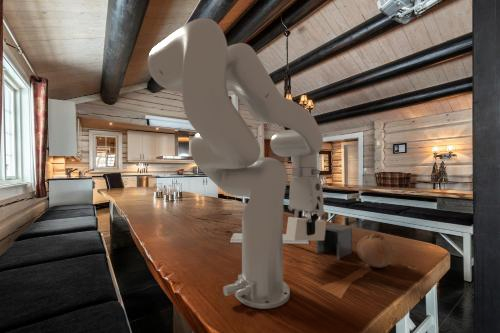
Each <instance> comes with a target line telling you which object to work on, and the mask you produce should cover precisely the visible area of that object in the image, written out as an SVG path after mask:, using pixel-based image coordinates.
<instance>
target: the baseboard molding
mask: <svg viewBox="0 0 500 333" xmlns="http://www.w3.org/2000/svg"><path fill="white" fill-rule="evenodd" d="M309 241H310V240H292V239H289V238H286V233H283V245H310V242H309ZM229 244H242V232H241V233H239V232H238V233H237V232H235V233H234V232H233V233H231V237H230V240H229Z"/></svg>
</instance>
